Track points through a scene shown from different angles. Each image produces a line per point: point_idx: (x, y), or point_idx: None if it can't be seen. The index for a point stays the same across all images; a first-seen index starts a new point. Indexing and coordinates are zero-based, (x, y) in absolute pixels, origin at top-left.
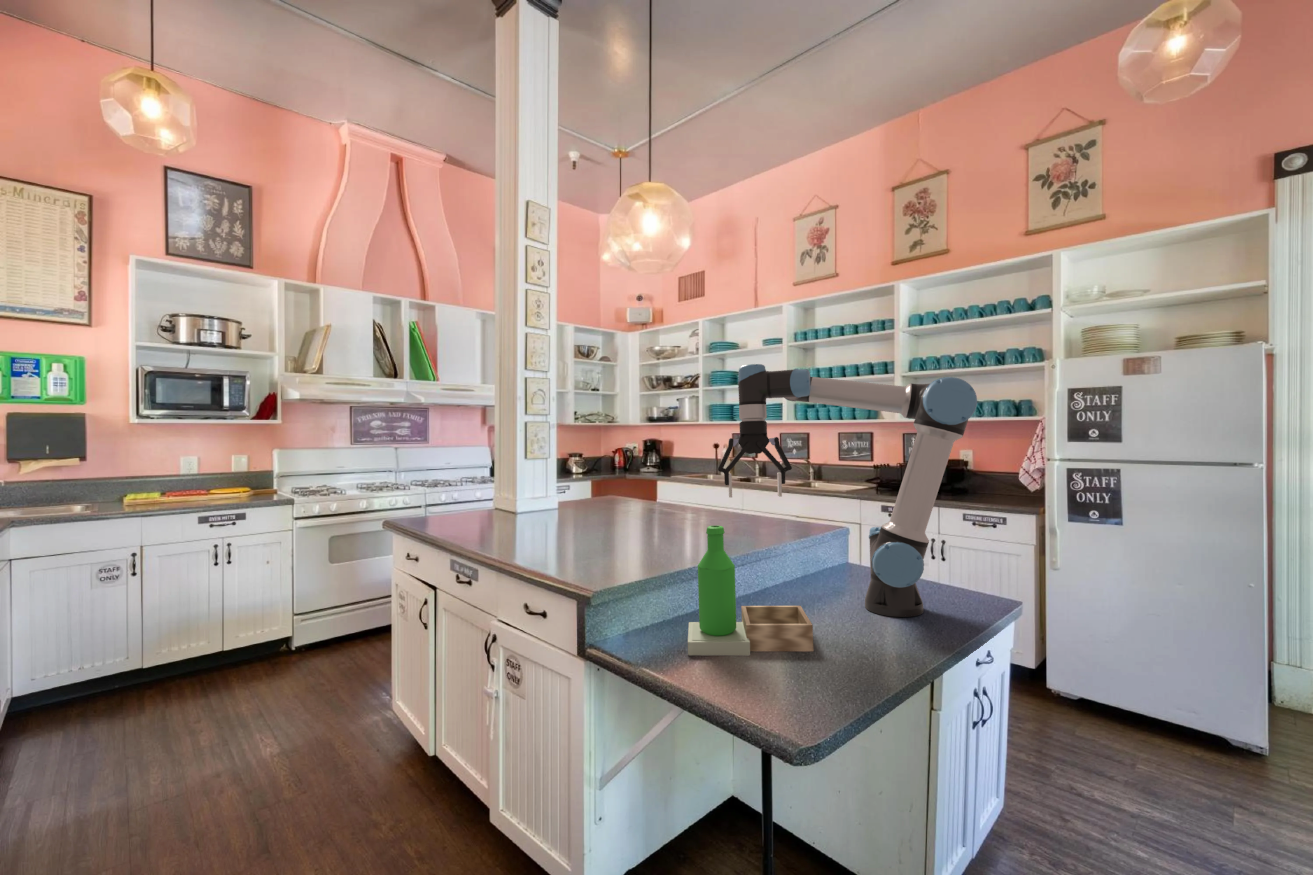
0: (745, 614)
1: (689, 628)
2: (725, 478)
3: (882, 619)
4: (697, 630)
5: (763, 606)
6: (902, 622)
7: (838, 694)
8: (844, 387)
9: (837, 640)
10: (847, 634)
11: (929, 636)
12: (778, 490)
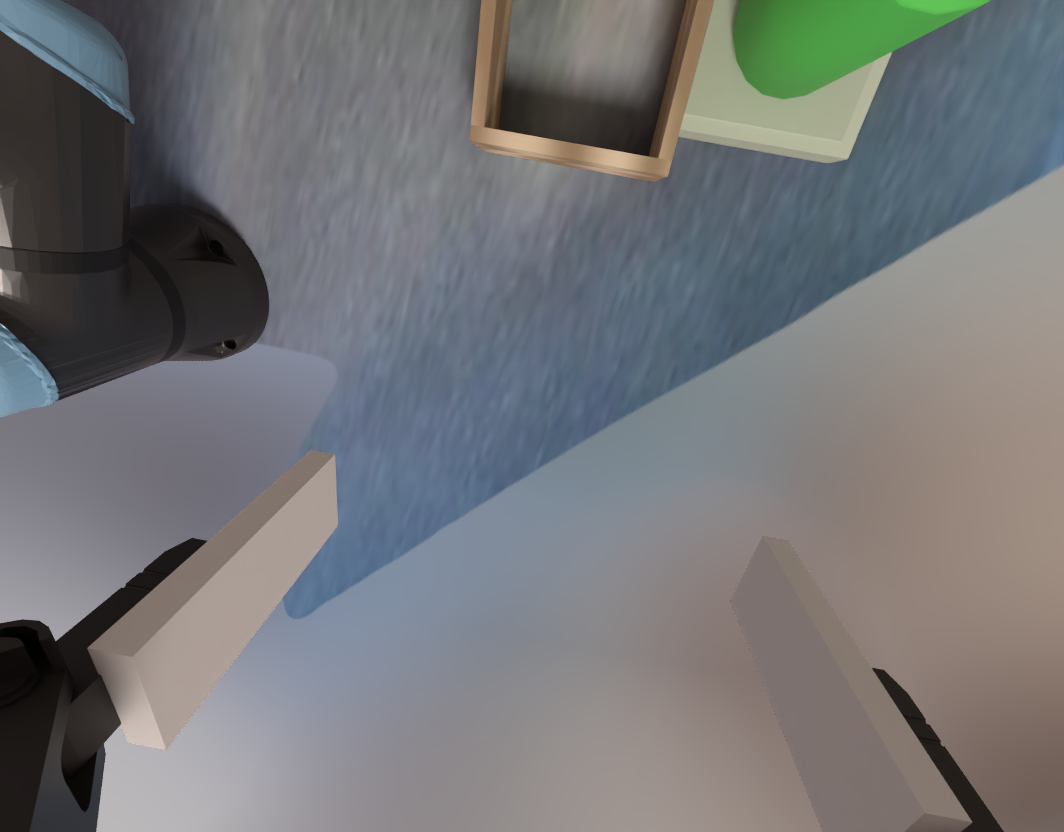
0: (691, 56)
1: (875, 82)
2: (946, 762)
3: (243, 201)
4: None
5: (595, 154)
6: (195, 163)
7: None
8: None
9: (408, 20)
10: (366, 76)
11: (142, 15)
12: (307, 512)
